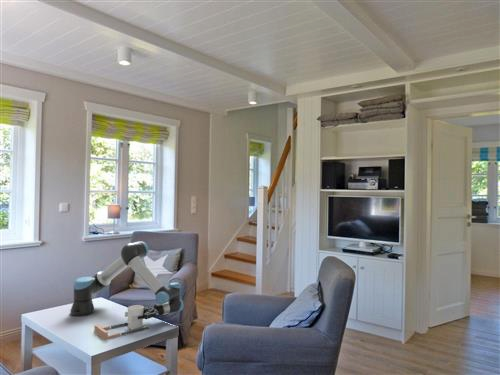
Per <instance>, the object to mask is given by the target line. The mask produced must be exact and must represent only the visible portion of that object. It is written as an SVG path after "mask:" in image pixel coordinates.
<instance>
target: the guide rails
mask: <svg viewBox="0 0 500 375" xmlns="http://www.w3.org/2000/svg"><path fill="white" fill-rule="evenodd" d="M123 326H124V327H125V326H128V321H124V322H120V323H115V324H112V325H110V329H115V328H117V329H118V328H120V327H123ZM149 328H150V326H149V325H144V326H142V327H140V328H136V329H129V330H125V331H121V332H120V333H121V336H126V335H129V334H130V335H131V334H133V333H137V332H142V331H145V330H148V329H149Z"/></svg>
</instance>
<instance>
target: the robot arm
mask: <svg viewBox="0 0 500 375" xmlns="http://www.w3.org/2000/svg"><path fill="white" fill-rule="evenodd" d="M149 250H150V249H149V246H148V244H147V243H146V242H144V241H142V240H141V241H140V240H138V241H135V242H129V243H126V244H125V245H124V246H123V247H122V248H121V250H120V257H118V258H117V259H115V261H113V262H112V263H111V264H110V265H109V266H107V267H106V268H105V269H104V270H103V271H98V272H97V273H96V274H95V275H94V276H82V277H78V278H76V279H75V280H74V283H73V302H72V305H71V308H70V310H69V311H70V313H69V314H70V315H71V316H74V317H84V316H89V315H91V314H94V313H95V306H94V302H93V295H95V294H97V293H101V292H103V291H106V290H107V289H108V288H109V286H110V284H111V281H112V280H113V279H115V278H116V276H118V275H119V274H121V273H122V272H123V271H124V270H125V269H126V268H131V269H132V271H133V272H134V274H136V275H137V276H138V277H139V278H140V279H141V281H142V282H143V283H144V284H145V286H147V287H148V289H149V290H150V291H151V292H152V293H153V294H154V295H155V301H156V302H157V303H156V304H154V306H153V307H149V306H145V307H144V311H143V315H142V314H140V315H135V316H132V321H135V320H139V319H142V318H143V320H149V319H152V318H154V317H159V316H166V315H170V314H172V313H178V312H181V311H183V310H184V306H185V304H184V301H183V299H181V283H179V282H174V281H173V282H170V283H168V288H166V287H165V285H164V284H163V283H162V282H161V281H160V280H159V278H157V277H156V275H154V274H153V272H152V270H150V269H149V268H148V267H147V265H146V264H145V263H143V261H142V260H141V259H144V258H146V257H147V256H148V254H149ZM124 317H125V318H128V311H125V312H124Z"/></svg>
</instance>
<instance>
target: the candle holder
mask: <svg viewBox="0 0 500 375" xmlns="http://www.w3.org/2000/svg"><path fill="white" fill-rule="evenodd" d="M126 310H127V312H128V316H127V322H128V325H127V328H128V329H129V330H132V329H136V328H140V327H143V323H144V322H143V320H144V319H143V318H142V319H139V320H135V321H132V316H135V315H140V314H142V315H143V311H144V305H142V304H133V305H129V306H128V307H127V309H126Z"/></svg>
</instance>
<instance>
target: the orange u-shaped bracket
mask: <svg viewBox="0 0 500 375" xmlns="http://www.w3.org/2000/svg"><path fill="white" fill-rule="evenodd" d="M93 327H94V329H93V330H94V333H95V334H97V336H100V337H101V338H102V339H103V340H106V341H107V340H111V339H114V338H119V337H121V336H122V335H121V332H117V333H113V334H109V332H108V330H111V325H106V326H102V327H101V326H100V325H99V324H94V326H93Z"/></svg>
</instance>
